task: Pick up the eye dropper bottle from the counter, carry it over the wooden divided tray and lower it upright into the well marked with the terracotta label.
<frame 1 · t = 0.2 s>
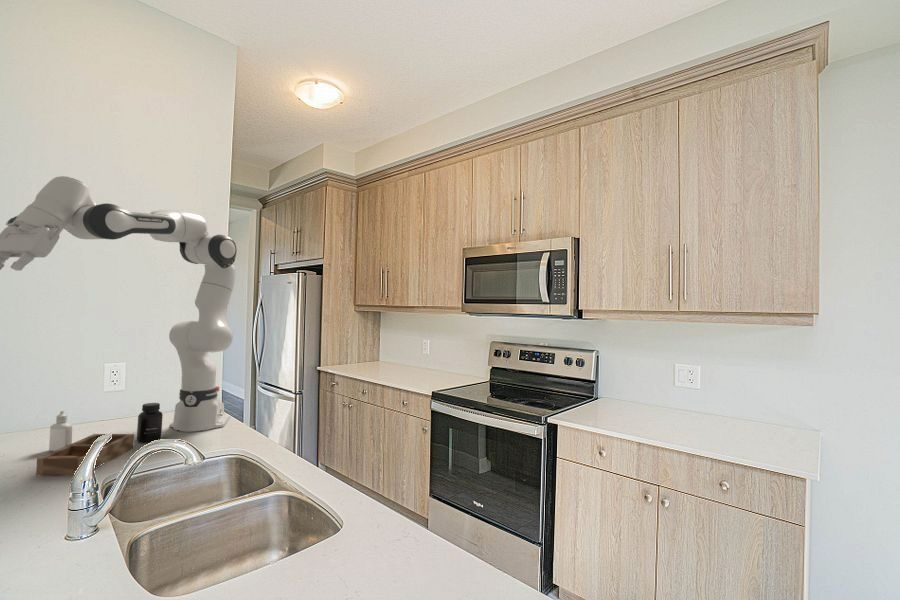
hand: (4, 269, 111), 54 cm above the countertop, tool tilted 30°, fingers open, 8 cm apart
eye dropper bottle: (60, 451, 133), on the countertop
wooden divided tray: (89, 460, 125), on the countertop
supplement bottle: (149, 440, 145), on the countertop
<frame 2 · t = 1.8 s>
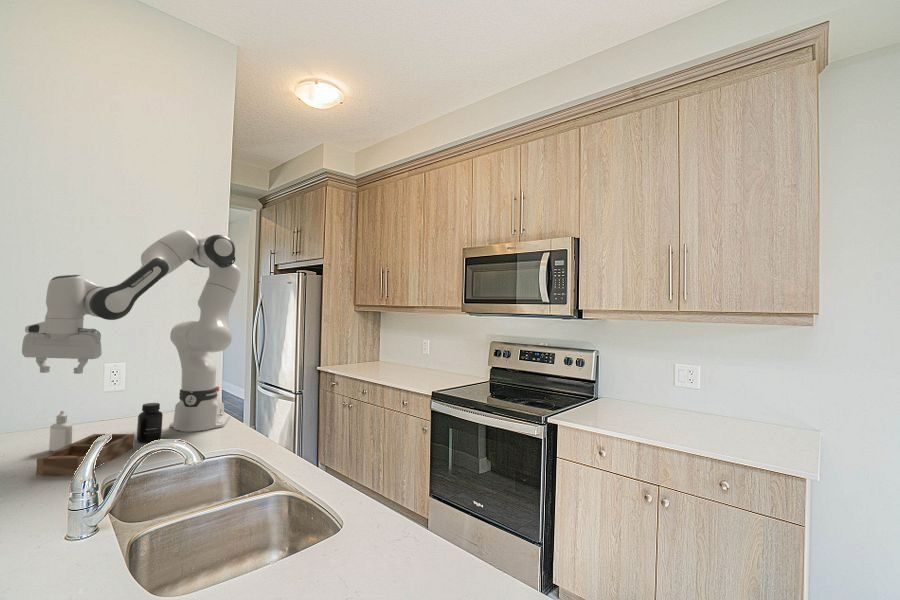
hand: (61, 373, 132), 24 cm above the countertop, tool pointing down, fingers open, 8 cm apart
nothing on the countertop moved.
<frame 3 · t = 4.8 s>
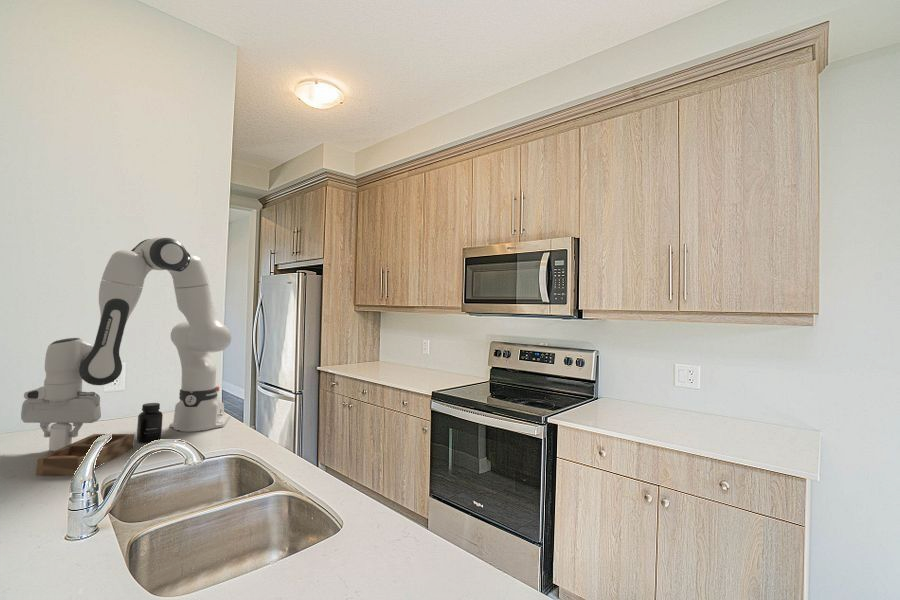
hand: (61, 436, 133), 4 cm above the countertop, tool pointing down, fingers closed on eye dropper bottle, 5 cm apart
eye dropper bottle: (60, 450, 133), on the countertop, touching gripper
everything else where it was.
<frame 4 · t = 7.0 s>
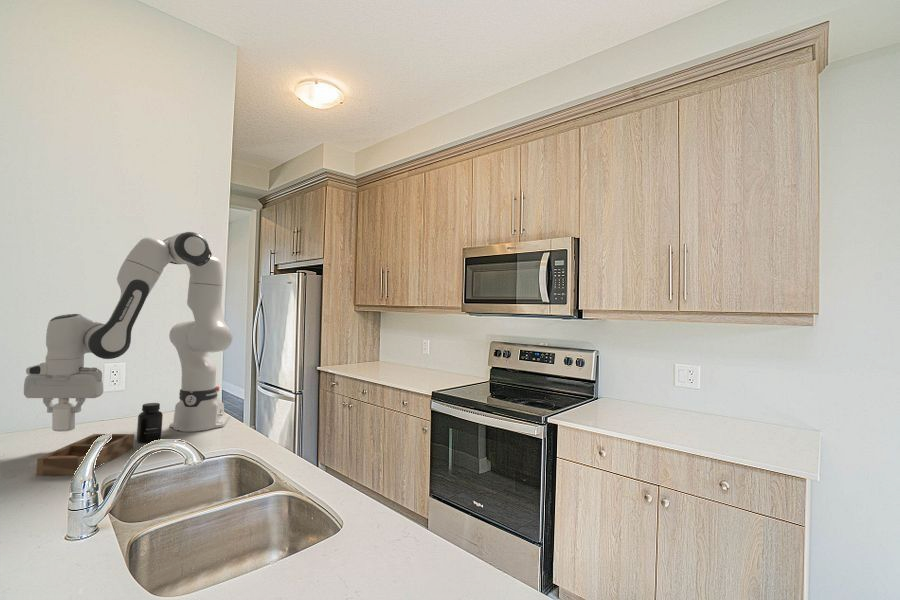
hand: (64, 412, 133), 11 cm above the countertop, tool pointing down, fingers closed on eye dropper bottle, 5 cm apart
eye dropper bottle: (63, 430, 133), point 6 cm above the countertop, touching gripper
everything else where it was.
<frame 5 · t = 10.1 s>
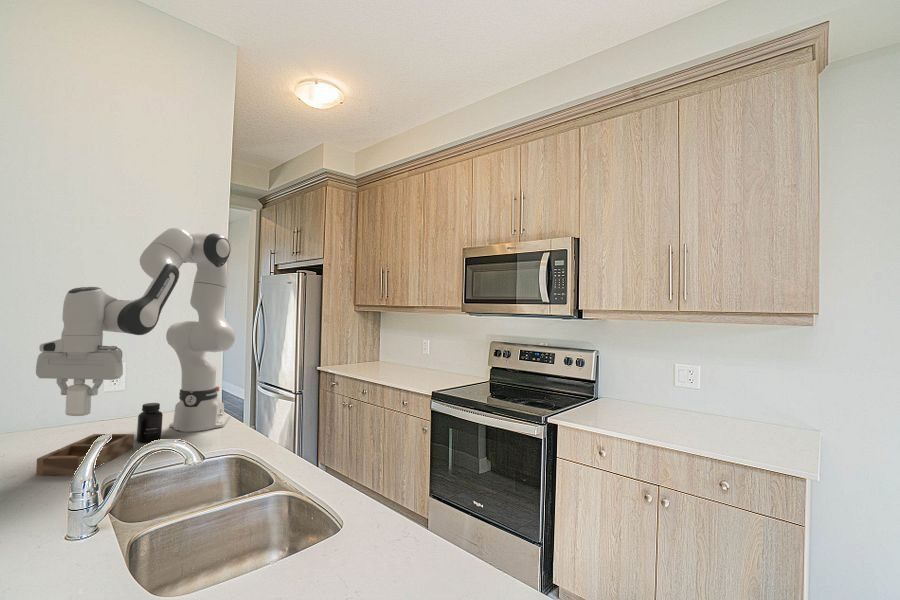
hand: (79, 395, 121), 20 cm above the countertop, tool pointing down, fingers closed on eye dropper bottle, 5 cm apart
eye dropper bottle: (77, 415, 121), point 14 cm above the countertop, touching gripper
everything else where it was.
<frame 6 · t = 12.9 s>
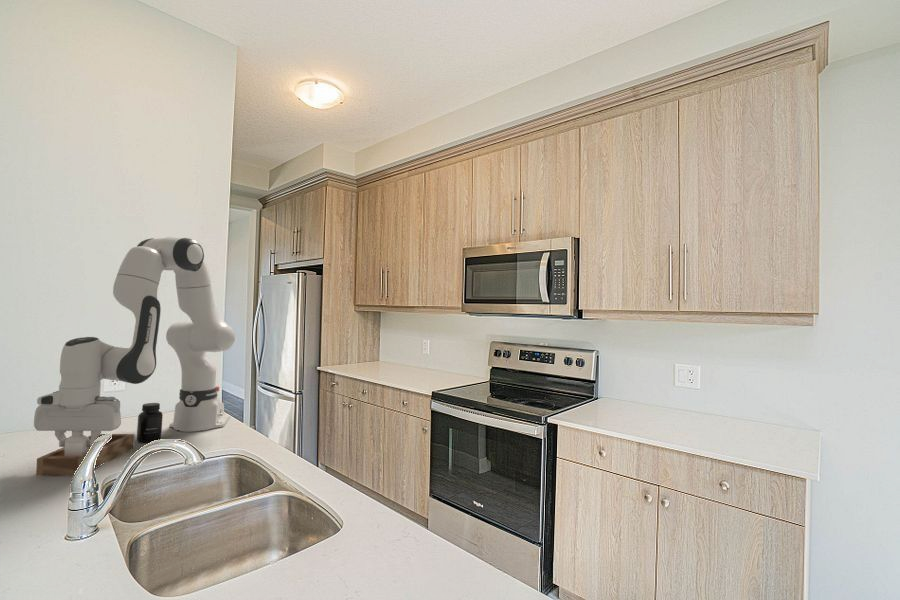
hand: (77, 446, 121), 6 cm above the countertop, tool pointing down, fingers closed on eye dropper bottle, 5 cm apart
eye dropper bottle: (76, 466, 121), resting on wooden divided tray, touching gripper
everything else where it was.
when the fingers open (6 cm above the countertop, at t = 13.5 s): eye dropper bottle moves 1 cm, resting on wooden divided tray.
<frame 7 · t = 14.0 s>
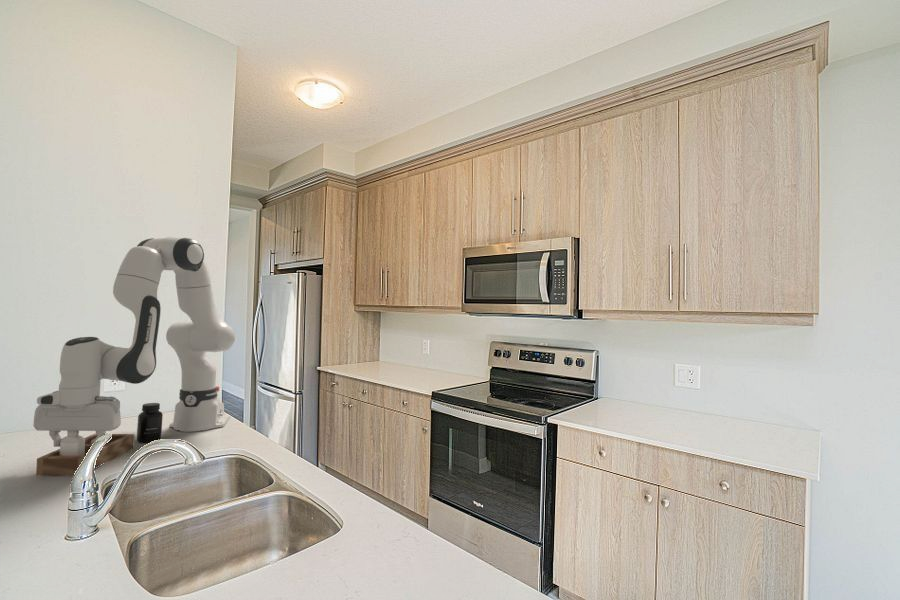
hand: (77, 446, 121), 6 cm above the countertop, tool pointing down, fingers open, 8 cm apart
eye dropper bottle: (71, 466, 120), resting on wooden divided tray
everything else where it was.
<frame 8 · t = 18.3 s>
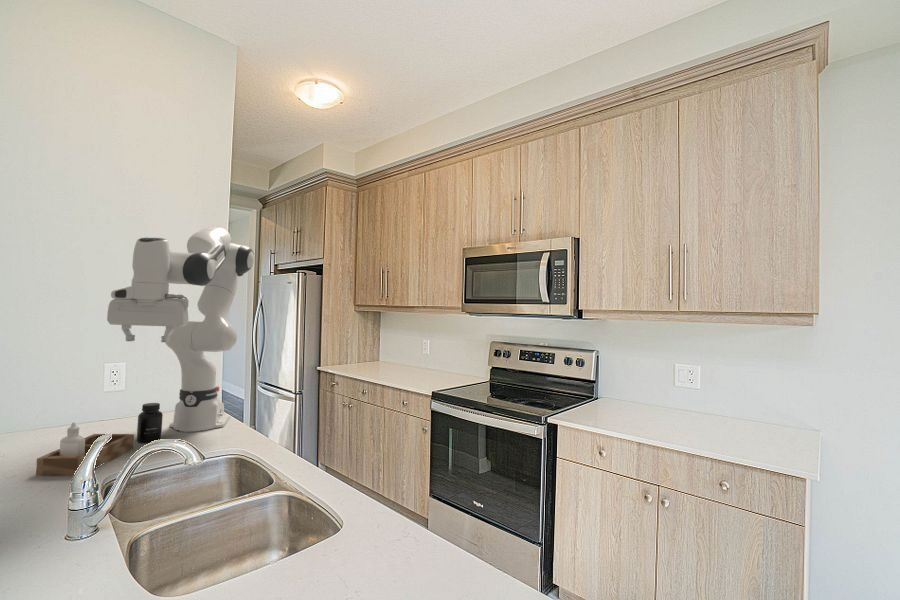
hand: (147, 341, 125), 35 cm above the countertop, tool pointing down, fingers open, 8 cm apart
nothing on the countertop moved.
at the end: eye dropper bottle 1.3 cm from the target spot on the wooden divided tray, point 0.1 cm above the wooden divided tray's base; eye dropper bottle tilted 0°; the gripper is holding nothing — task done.
